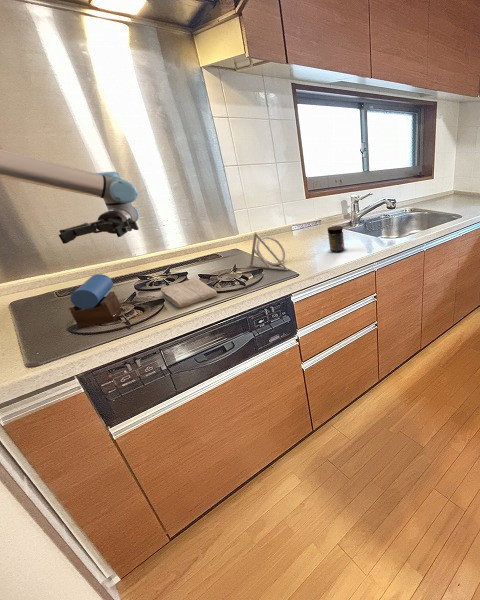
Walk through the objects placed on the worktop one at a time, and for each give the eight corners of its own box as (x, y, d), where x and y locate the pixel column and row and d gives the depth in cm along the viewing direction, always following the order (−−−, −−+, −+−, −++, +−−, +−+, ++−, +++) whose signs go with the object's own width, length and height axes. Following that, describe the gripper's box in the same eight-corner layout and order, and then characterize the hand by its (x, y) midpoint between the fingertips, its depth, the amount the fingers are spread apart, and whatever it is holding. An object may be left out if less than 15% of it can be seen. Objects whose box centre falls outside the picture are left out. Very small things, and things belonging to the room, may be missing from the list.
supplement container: (342, 253, 144) (340, 230, 140) (328, 252, 145) (325, 229, 141) (346, 248, 150) (344, 226, 146) (332, 248, 151) (330, 226, 147)
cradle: (89, 315, 96) (80, 296, 93) (122, 309, 99) (114, 291, 96) (78, 327, 89) (68, 307, 87) (114, 321, 92) (105, 301, 90)
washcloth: (197, 283, 116) (194, 275, 115) (220, 296, 106) (217, 288, 104) (159, 295, 108) (156, 286, 107) (180, 310, 98) (176, 301, 96)
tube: (93, 292, 98) (85, 275, 96) (116, 289, 100) (108, 272, 98) (76, 310, 88) (66, 292, 85) (101, 306, 90) (92, 288, 87)
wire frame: (283, 267, 144) (304, 254, 135) (265, 283, 134) (287, 270, 126) (253, 234, 137) (275, 218, 128) (233, 248, 127) (254, 232, 119)
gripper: (159, 226, 122) (143, 241, 104) (77, 236, 114) (45, 254, 96) (151, 206, 118) (133, 218, 101) (66, 215, 110) (30, 229, 93)
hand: (90, 235), depth 98 cm, fingers open, 13 cm apart
